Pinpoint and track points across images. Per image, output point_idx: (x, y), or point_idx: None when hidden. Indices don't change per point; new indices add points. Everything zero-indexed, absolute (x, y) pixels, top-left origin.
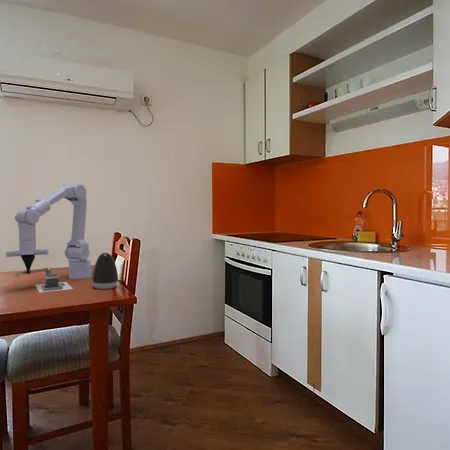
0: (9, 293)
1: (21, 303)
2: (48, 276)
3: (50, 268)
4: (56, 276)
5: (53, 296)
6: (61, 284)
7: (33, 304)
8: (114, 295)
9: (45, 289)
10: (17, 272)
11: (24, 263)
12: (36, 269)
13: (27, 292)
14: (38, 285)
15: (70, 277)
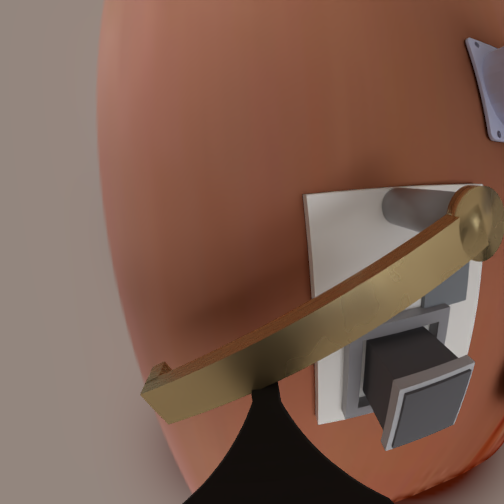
0: (151, 327)
1: None
2: (400, 444)
3: (491, 255)
4: (440, 428)
5: (365, 440)
6: (454, 292)
7: None
8: (495, 432)
9: (353, 413)
10: (161, 404)
11: (224, 471)
12: (370, 283)
13: None
14: (330, 235)
15: (500, 104)
